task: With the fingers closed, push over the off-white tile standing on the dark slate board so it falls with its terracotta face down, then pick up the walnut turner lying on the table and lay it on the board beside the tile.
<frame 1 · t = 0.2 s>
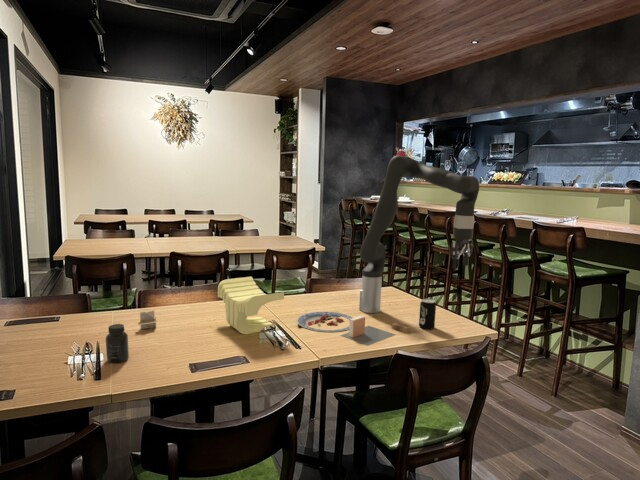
hand: (460, 266, 182), 29 cm above the table, tool pointing down, fingers open, 8 cm apart
tile: (356, 335, 180), point 1 cm above the table, touching slate board
supplement bottle: (117, 360, 154), on the table
ceramic plate: (326, 326, 195), on the table
walnut turner: (400, 333, 187), on the table
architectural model: (148, 330, 185), on the table
slatted curved stool: (249, 327, 189), on the table
slate board: (368, 338, 180), on the table
beverage can: (426, 327, 196), on the table
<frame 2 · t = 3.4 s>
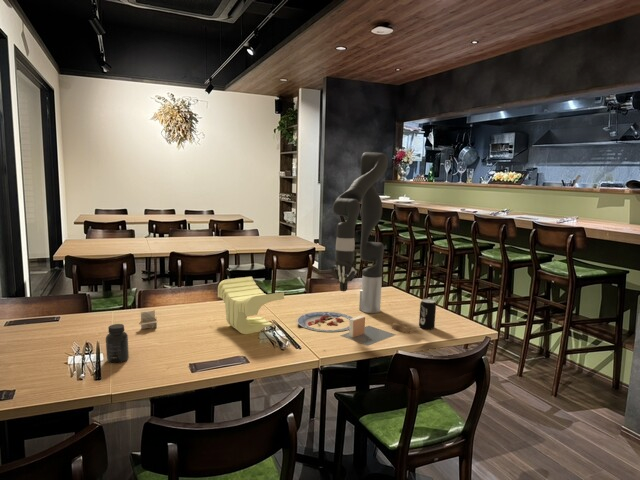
hand: (343, 290, 183), 18 cm above the table, tool pointing down, fingers closed
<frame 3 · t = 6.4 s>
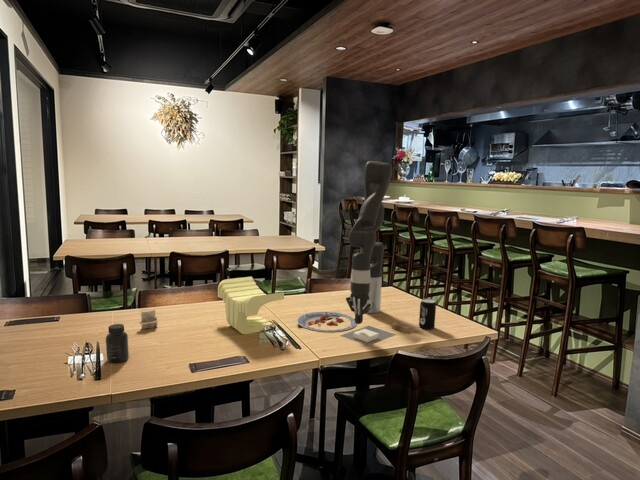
hand: (358, 323, 178), 7 cm above the table, tool pointing down, fingers closed
tile: (359, 333, 179), point 3 cm above the table, tilted 90°, touching slate board
everything else where it was.
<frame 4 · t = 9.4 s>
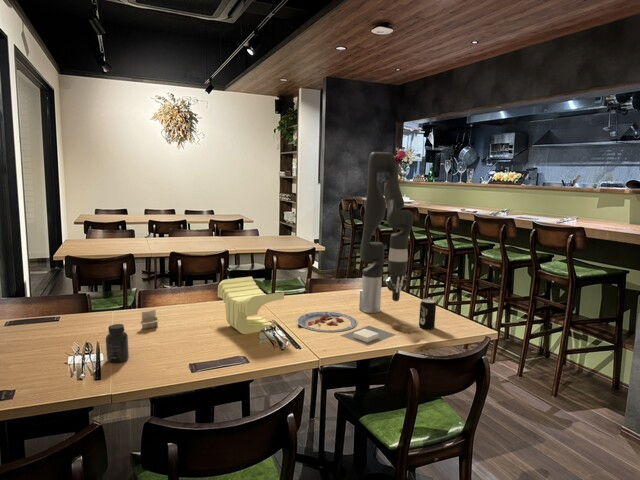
hand: (395, 300, 186), 14 cm above the table, tool pointing down, fingers closed
nothing on the table moved.
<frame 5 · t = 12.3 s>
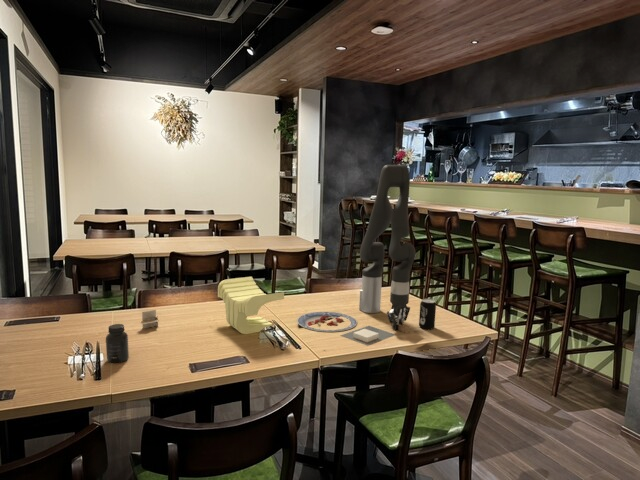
hand: (397, 331, 188), 0 cm above the table, tool pointing down, fingers closed on walnut turner, 2 cm apart
walnut turner: (400, 333, 187), on the table, touching gripper
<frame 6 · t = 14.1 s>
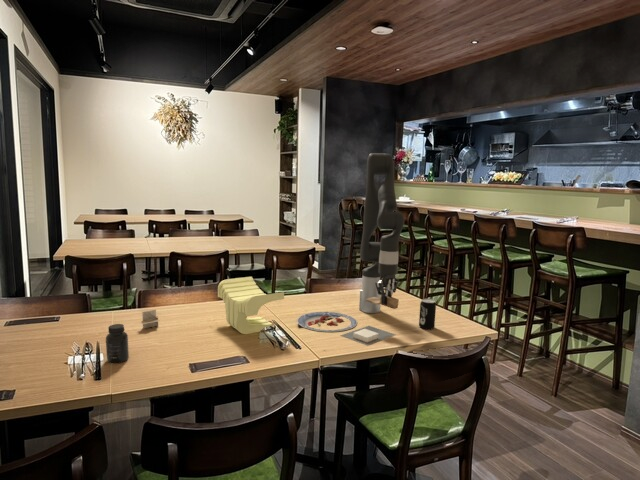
hand: (386, 304, 182), 13 cm above the table, tool pointing down, fingers closed on walnut turner, 2 cm apart
walnut turner: (388, 305, 181), point 13 cm above the table, touching gripper
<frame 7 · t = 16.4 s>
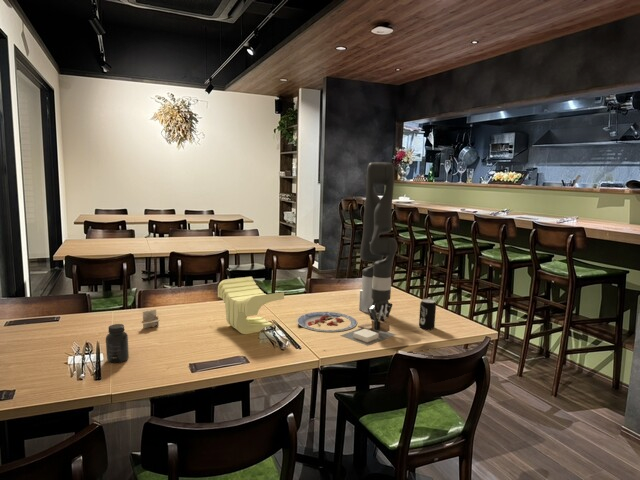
hand: (379, 328, 182), 3 cm above the table, tool pointing down, fingers closed on walnut turner, 2 cm apart
walnut turner: (380, 329, 182), point 3 cm above the table, touching gripper
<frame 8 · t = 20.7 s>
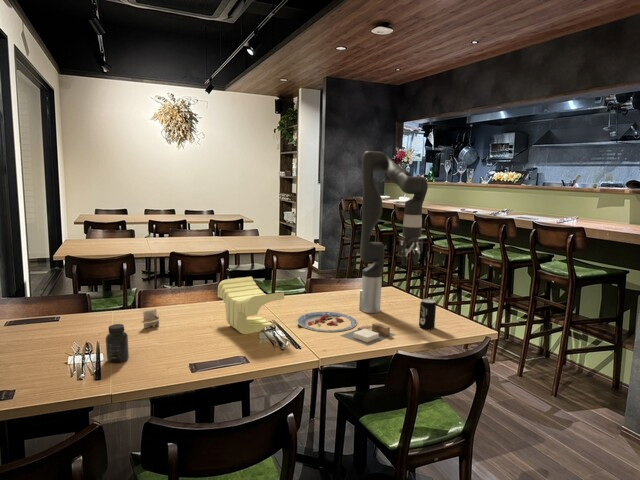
hand: (410, 263, 189), 28 cm above the table, tool pointing down, fingers open, 8 cm apart
walnut turner: (380, 333, 182), point 1 cm above the table, touching slate board
at the end: tile tilted 90°; tile inside the target area (2.5 cm from its centre), point 2.6 cm above the table; walnut turner inside the target area (0.2 cm from its centre), point 1.5 cm above the table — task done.
